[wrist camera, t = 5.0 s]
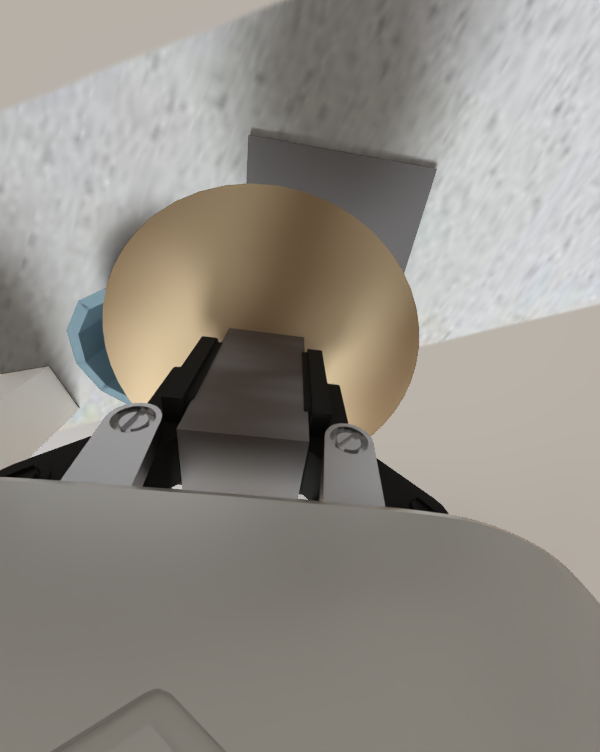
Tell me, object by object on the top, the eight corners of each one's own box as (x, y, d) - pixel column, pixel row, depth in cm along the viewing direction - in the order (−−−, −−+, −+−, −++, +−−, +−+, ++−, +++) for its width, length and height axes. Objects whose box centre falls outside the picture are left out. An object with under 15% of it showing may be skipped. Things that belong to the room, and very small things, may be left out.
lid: (463, 216, 11) (669, 238, 5) (369, 468, 17) (406, 608, 11) (79, 153, 10) (-267, 84, 4) (137, 448, 16) (46, 589, 10)
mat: (434, 169, 22) (436, 168, 22) (381, 337, 30) (382, 339, 29) (249, 136, 21) (248, 134, 21) (241, 318, 29) (240, 320, 28)
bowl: (226, 279, 27) (209, 299, 22) (225, 381, 32) (211, 415, 27) (100, 261, 26) (51, 277, 21) (121, 368, 32) (87, 402, 27)
